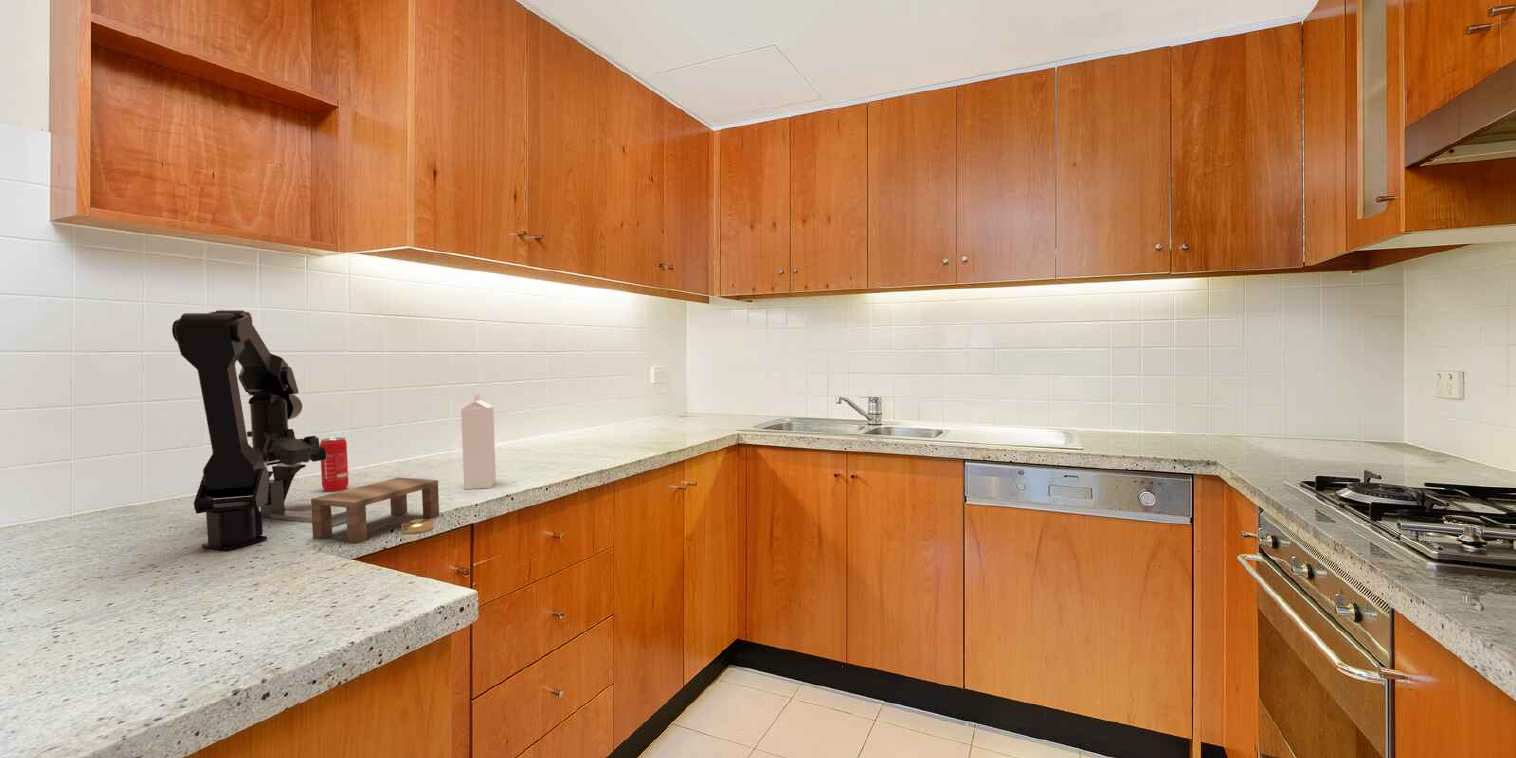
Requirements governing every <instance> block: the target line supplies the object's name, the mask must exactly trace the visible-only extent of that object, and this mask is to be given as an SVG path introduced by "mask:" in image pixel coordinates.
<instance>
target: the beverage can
mask: <svg viewBox="0 0 1516 758" xmlns="http://www.w3.org/2000/svg"><path fill="white" fill-rule="evenodd" d="M319 445H320V446H322V447H323V448H324V449H325V450H326V454H327V459H326V460H321V461H320V471H321V488H322V489H323V490H324V492H326V493H328V492H329V493H330V492H331V493H332V492H333V493H335V492H341V491H345V490H348V486H349V466H348V462H349V461H348V448H347V447H348V444H347V439H346V438H345V437H327V438H322V439H321V440H320V442H319Z"/></svg>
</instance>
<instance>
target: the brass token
mask: <svg viewBox="0 0 1516 758" xmlns="http://www.w3.org/2000/svg"><path fill="white" fill-rule="evenodd" d="M433 525H434V524H433V519H432V518H418V519H411V520H408V521H405V522H403V523H401V525H400V526H401V527H400V528H401V533H402V534H403V535H418V534H422V533H427V532H430V531H432V530H433V529H434V526H433Z"/></svg>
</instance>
